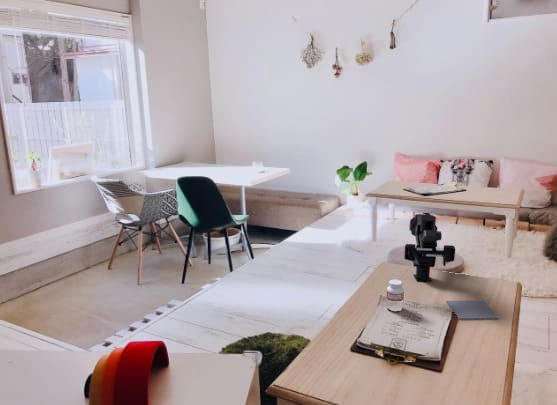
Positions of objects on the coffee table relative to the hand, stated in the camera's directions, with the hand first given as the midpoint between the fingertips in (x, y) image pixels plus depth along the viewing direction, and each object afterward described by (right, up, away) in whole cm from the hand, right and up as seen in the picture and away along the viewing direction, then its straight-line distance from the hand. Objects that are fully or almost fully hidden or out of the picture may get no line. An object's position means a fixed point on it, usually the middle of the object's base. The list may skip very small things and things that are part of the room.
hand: (431, 264), depth 178 cm
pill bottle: (-13, -17, +2) cm, 22 cm away
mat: (+14, -17, -1) cm, 22 cm away
